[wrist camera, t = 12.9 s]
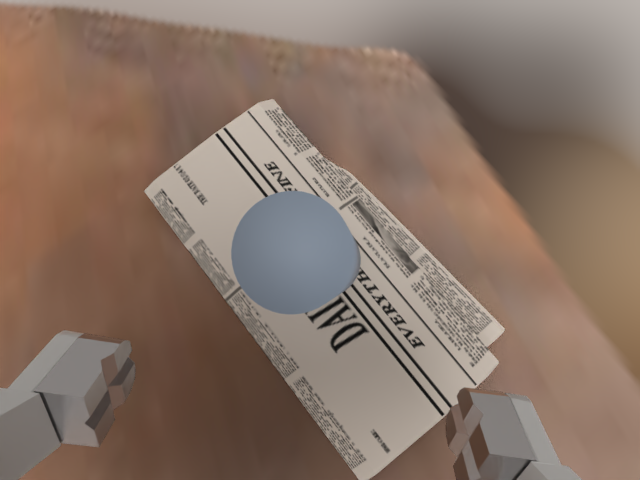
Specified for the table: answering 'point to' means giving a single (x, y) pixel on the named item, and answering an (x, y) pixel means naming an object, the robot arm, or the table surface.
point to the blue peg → (294, 253)
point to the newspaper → (345, 309)
